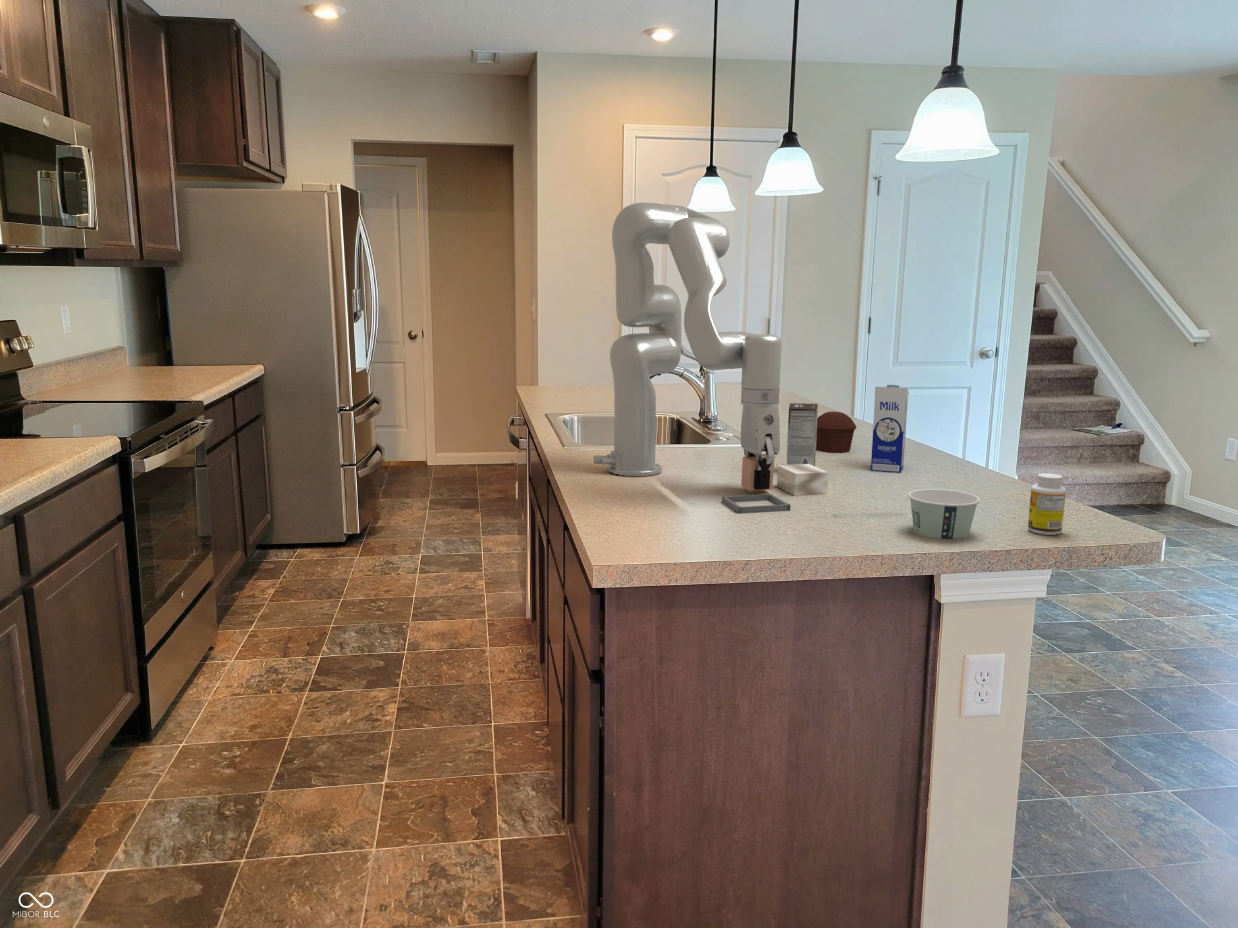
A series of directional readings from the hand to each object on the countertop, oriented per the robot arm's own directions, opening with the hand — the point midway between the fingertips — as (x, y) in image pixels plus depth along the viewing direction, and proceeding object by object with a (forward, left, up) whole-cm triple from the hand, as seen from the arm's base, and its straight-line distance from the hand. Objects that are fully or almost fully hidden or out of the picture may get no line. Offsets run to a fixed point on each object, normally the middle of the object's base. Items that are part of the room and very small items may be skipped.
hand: (756, 485), depth 184 cm
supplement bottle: (+40, -35, -3) cm, 53 cm away
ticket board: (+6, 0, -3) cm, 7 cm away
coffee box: (+18, +19, -3) cm, 26 cm away
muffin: (+40, +47, -3) cm, 62 cm away
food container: (+22, -31, -3) cm, 38 cm away
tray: (-5, -11, -3) cm, 12 cm away
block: (0, 0, -1) cm, 1 cm away
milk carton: (+41, +21, -3) cm, 46 cm away
